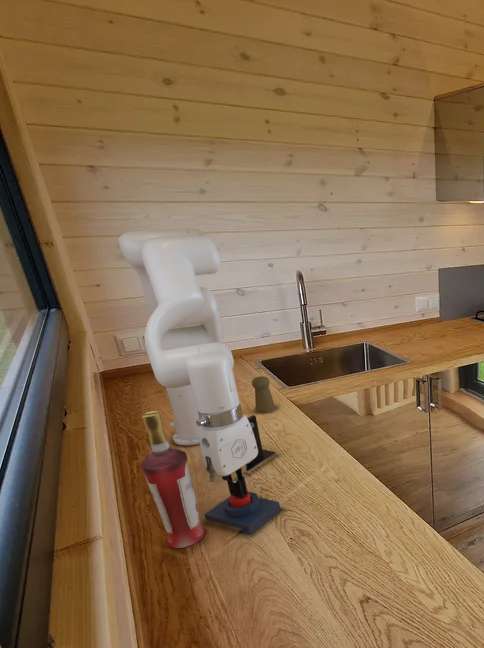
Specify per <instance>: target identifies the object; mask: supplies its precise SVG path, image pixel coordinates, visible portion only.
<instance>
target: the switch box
mask: <svg viewBox="0 0 484 648" xmlns="http://www.w3.org/2000/svg"><path fill="white" fill-rule="evenodd" d="M248 492H249V493H250V497H251V502H250V503H249V504H247V505H245V506H242V507H232V506H231V504H230V500H229V497H227V498H226V499H224V500H223V501H221V502H220V503H218V504H217V505H216V506H214V507H213V508H211V509H210V510H208V511H206V512H205V513H204V519H205V520H207V521H211V522H215V523H217V524H221V525H226V526H229V527H233V528H236V529H240V530H239V533H242V534H246V535H251V536H252V535H253V534H254V533H255V532H257V530H259V529H260V528H262V527H263V526H264V525H265V524H266V523H267V522H269V521H270V520H272V518H274V517H275V516H276V515H277V514H278V513H280V512H281V510H282V509H281V505H280V502H279V501H276V500H272V499H268V498H264V497H260V496H259V495H258V494H257V493H256V492H253V491H248Z"/></svg>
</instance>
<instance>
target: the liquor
mask: <svg viewBox="0 0 484 648" xmlns="http://www.w3.org/2000/svg"><path fill="white" fill-rule="evenodd" d="M141 417H142V421H143V423H144V426H145V427H146V430H147V432H148V435H149V436H148V438H149V443H150V448H151V453H150V454H148V455H147V456H146V457H145V458H143V460H142V462H141V463H140V467H141V469H142V472H143V474H144V478H145V480H146V482H147V485H148V487H149V490H150V492H151V495H152V497H153V500H154V503H155V505H156V508H157V510H158V513H159V516H160V518H161V521H162V525H163V527H164V529H165V533H166V535H167V540H166V544H167V546H168V547H170V548H173V549H184V548H185V549H186V548H189V547H191V546H194V545H195V544H197V543H198V542H200V541H201V540H202V539H203V538H204V537H205V536H206V533H207V530H206V528H205V527H204V526H203V525H202V520H201V517H200V513H199V507H198V504H197V499H196V493H195V488H194V484H193V477H192V474H191V469H190V464H189V460H188V456H187V452H186V451H184V450H182V449H179V448H173V447H171V445H170V443H169V441H168V438H167V436H166V433H165V432H164V429H163V419H162V415H161V412H160V411H157V410H153V411H148V412H145V413H143V414H142V416H141Z"/></svg>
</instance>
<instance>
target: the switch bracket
mask: <svg viewBox="0 0 484 648" xmlns="http://www.w3.org/2000/svg"><path fill="white" fill-rule="evenodd" d="M242 414H244V413H243V412H242ZM247 419H248V421H249V423H250V425H251V428H252V431H253V433H254V437H255V440H256V444H257V449H258V455H257V456H256V457H255V458H254V459H253V460H252V461H251V462H250V463H248V466H247V469H246V472H249V471H251V470H252V469H254V468H255V467H256V466H258V465H260V464H261V463H264V461H266V460H268V459H269V458H270V457H272V456H273V455H275V454H276V453H277V452H276V451H273V450H268V449H263V445H262V441H261V435H260V431H259V426H258V421H257V416H256V414H255V415H254V414H252V415H250V416H248V417H247Z"/></svg>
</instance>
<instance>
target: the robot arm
mask: <svg viewBox="0 0 484 648" xmlns="http://www.w3.org/2000/svg"><path fill="white" fill-rule="evenodd" d="M118 246H119V249H120V252H121V254H122V256H123V257H124V259H125V260H126V261H127V263H128V264H129V265H130V266H131V267H132V269H133V270H134V271H135V272H136V274H137V276H138V277H139V281H140V284H141V287H142V292H143V296H144V301H145V304H146V308H147V311H148V315H149V319H148V321H147V323H146V325H145V329H144V334H143V335H144V346H145V347H144V348H145V350H146V353H147V356H148V359H149V363H150V367H151V369H152V372H153V374H154V377H155V380H156V381H157V383H158V384H160V385H161V386H162V387H164V388H165V390H166V394H167V398H168V402H169V406H170V410H171V413H172V416H173V422H170V423H169V427H170V428H173V429H174V430H175V432H174V434H173V435H172V440H173V443H174V444H176V445H179V446H197V445H199V446H200V454H201V458H202V463H203V466H204V469H205V472H206V473H207V474H209V481H210V482H212V483H218V482H221V481H225V482H227V487H228V492H229V495H232V496H236V497H240V498H242V497H243V496H244V495H246V494H248V492H249V491H248V488H247V483H246V478H245V477H246V476H247V474H248V473H247V472H248V471H246V469H247V466H248V463H250V462H251V461H252V460H253V459H254V458H255V457H256V456H257V455H258V449H257V444H256V440H255V437H254V433H253V431H252V428H251V425H250V423H249V421H248V419H247V418H248V417H247V415H246V414H245V413H243V412H242V407H241V401H240V398H239V397H240V396H239V393H238V388H237V383H236V379H235V374H234V370H233V369H234V367H235V359H234V355H233V353H232V350H231V349H230V348H229V347H227V345H226V344H225V341H224V339H225V338H224V332H223V326H222V320H221V313H220V308H219V304H218V300H217V298H216V296H215V293H213V291H212V290H210V289H209V288H208V287H203V286H200V285H199V281H198V280H197V277H196V276H205V275H212V274H216V273H218V272H219V271H220V268H221V256H220V253H219V250H218V247H217V246H216V244H215V242H214V241H213V240H212V238H211V237H210V236H209V235H208V234H206V233H205V232H203V231H202V230H200V229H199V228H198V229H197V228H171V229H170V228H169V229H168V228H167V229H143V230H142V229H141V230H130V231H126V232H124V233H122V234H121V235H120V236H119V238H118ZM242 413H243V414H242ZM247 491H248V492H247Z"/></svg>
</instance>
